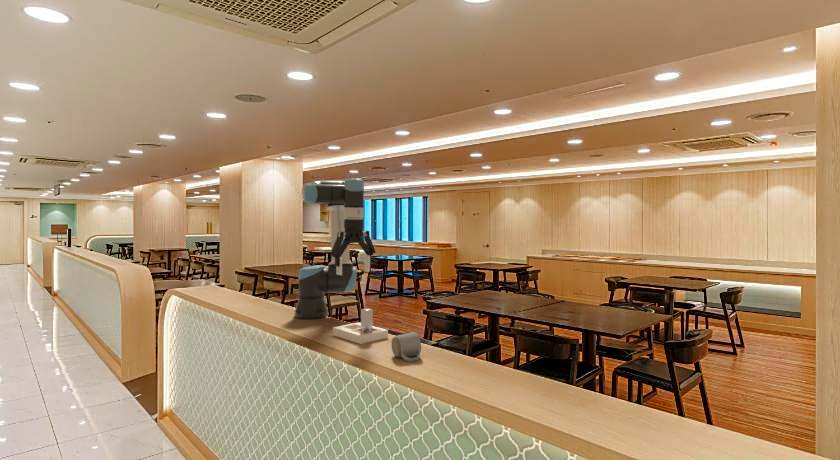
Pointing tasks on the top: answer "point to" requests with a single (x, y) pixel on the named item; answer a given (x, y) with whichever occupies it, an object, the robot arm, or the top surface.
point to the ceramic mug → (407, 346)
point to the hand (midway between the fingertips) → (353, 273)
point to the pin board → (359, 333)
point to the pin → (366, 320)
